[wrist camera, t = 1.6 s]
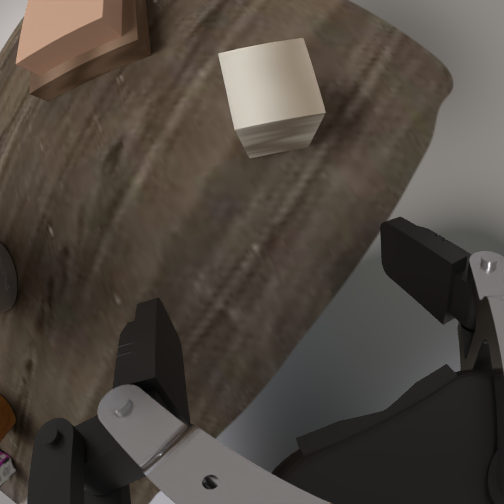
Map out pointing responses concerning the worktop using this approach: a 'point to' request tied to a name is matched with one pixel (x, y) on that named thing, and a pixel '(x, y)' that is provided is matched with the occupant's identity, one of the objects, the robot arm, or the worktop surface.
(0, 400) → the disposable coffee cup
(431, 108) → the worktop surface
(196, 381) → the worktop surface
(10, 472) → the candy bar box
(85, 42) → the tower top block
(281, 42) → the cream block
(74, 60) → the tower base block
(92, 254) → the worktop surface
